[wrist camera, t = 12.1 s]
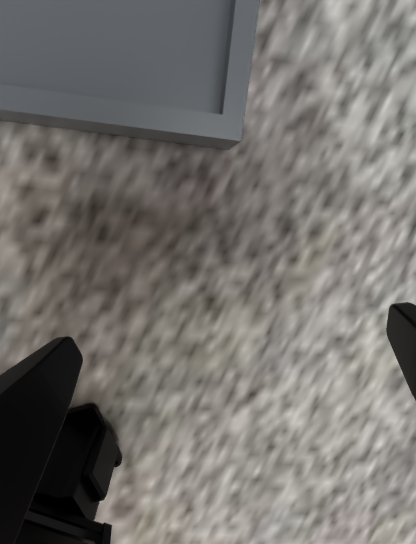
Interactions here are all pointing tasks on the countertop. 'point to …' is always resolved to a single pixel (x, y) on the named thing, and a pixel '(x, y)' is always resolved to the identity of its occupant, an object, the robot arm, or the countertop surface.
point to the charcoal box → (129, 67)
